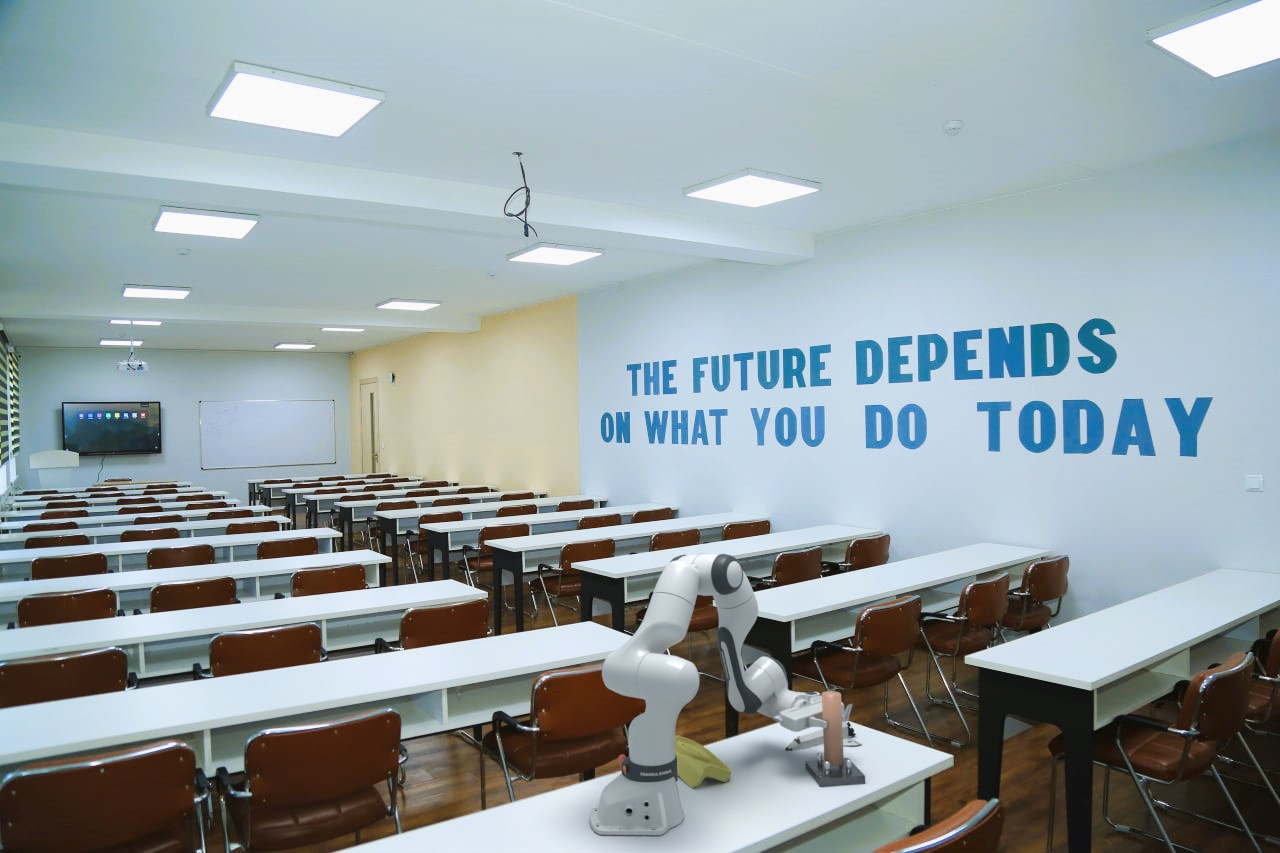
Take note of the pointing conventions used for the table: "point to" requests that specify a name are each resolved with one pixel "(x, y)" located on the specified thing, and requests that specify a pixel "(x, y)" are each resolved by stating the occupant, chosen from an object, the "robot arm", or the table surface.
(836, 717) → the canister
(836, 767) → the plate
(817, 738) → the space shuttle model
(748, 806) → the table surface
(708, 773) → the plastic component
